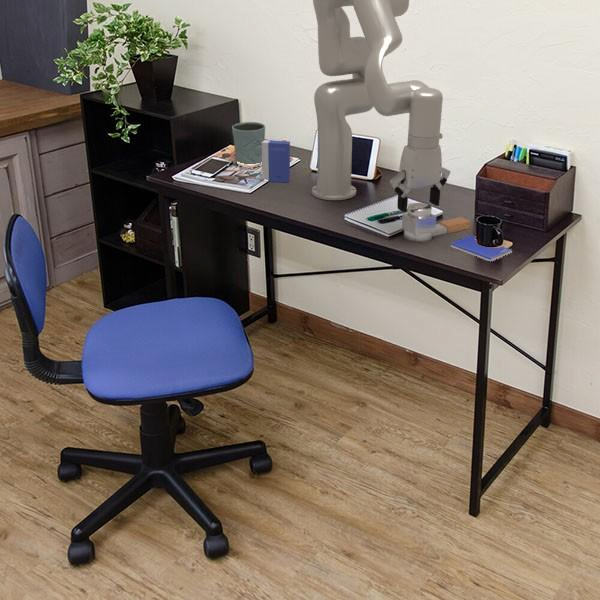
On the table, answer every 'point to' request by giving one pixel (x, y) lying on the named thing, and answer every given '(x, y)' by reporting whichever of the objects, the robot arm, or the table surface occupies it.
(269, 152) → the walkman
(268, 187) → the table surface
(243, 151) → the green tapered cup
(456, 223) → the ratchet
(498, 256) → the blue flat block
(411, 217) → the frosted rounded block
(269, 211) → the table surface
